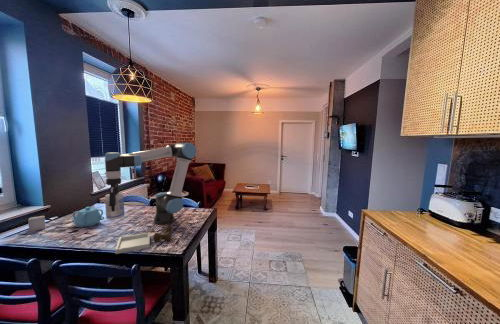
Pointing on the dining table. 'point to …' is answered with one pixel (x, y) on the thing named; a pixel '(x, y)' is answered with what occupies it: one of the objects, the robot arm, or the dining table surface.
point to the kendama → (165, 235)
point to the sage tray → (133, 243)
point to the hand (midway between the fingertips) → (115, 213)
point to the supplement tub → (118, 206)
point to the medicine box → (36, 223)
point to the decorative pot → (87, 217)
